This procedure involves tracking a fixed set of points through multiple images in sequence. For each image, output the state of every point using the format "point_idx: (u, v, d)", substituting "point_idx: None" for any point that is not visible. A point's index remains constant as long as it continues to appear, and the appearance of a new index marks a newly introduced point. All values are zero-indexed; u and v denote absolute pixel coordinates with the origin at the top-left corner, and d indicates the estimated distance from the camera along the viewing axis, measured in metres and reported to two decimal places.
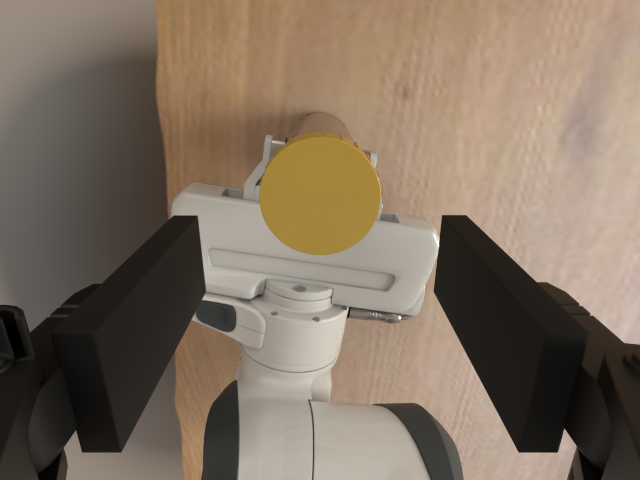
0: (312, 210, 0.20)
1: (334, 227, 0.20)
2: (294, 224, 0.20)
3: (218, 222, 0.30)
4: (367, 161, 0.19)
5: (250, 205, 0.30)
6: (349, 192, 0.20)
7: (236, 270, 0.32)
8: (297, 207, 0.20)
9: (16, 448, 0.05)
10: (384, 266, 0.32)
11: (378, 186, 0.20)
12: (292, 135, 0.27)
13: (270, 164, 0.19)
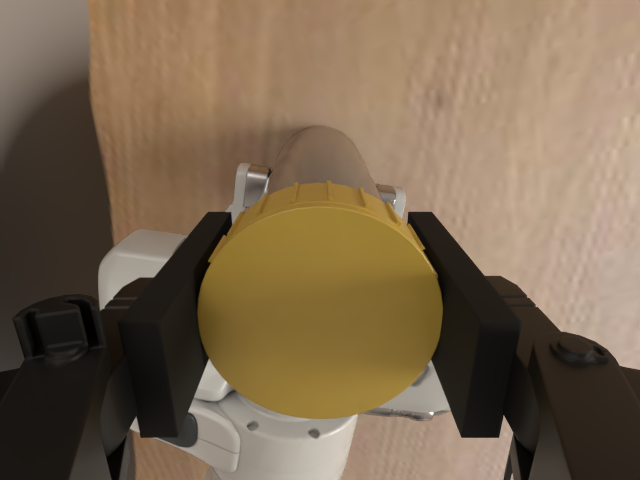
0: (304, 343, 0.10)
1: (348, 373, 0.10)
2: (269, 368, 0.10)
3: None
4: (418, 253, 0.09)
5: None
6: (380, 312, 0.10)
7: None
8: (274, 338, 0.10)
9: (91, 432, 0.06)
10: None
11: (439, 300, 0.10)
12: (275, 171, 0.17)
13: (216, 259, 0.09)
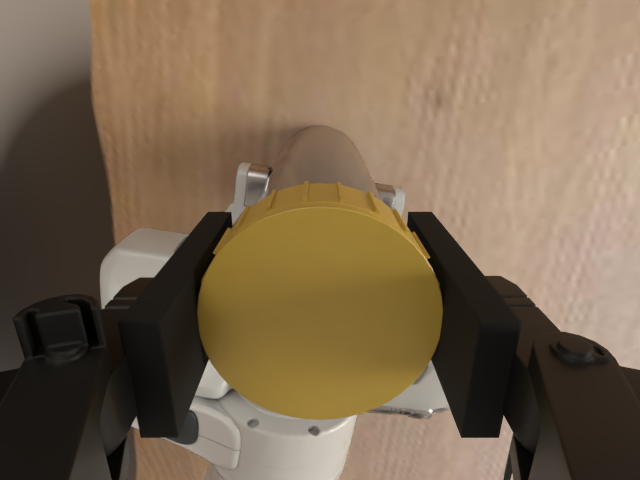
0: (348, 323, 0.10)
1: (352, 271, 0.09)
2: (393, 334, 0.10)
3: None
4: (200, 298, 0.10)
5: None
6: (271, 289, 0.09)
7: None
8: (359, 348, 0.10)
9: (90, 433, 0.06)
10: None
11: (223, 252, 0.09)
12: (276, 170, 0.17)
13: (319, 418, 0.11)
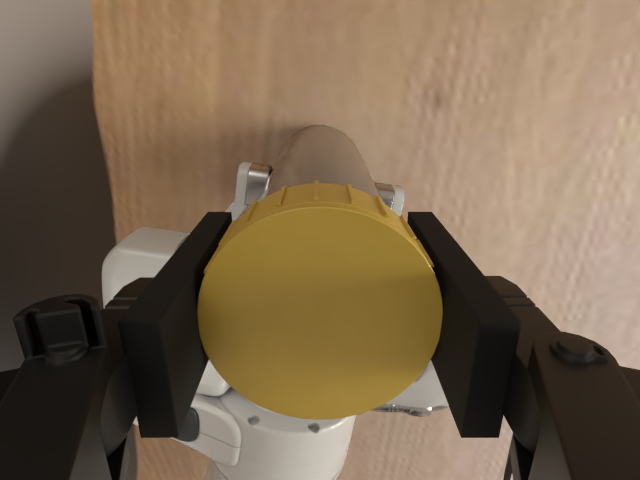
0: (302, 305, 0.10)
1: (254, 332, 0.10)
2: (283, 263, 0.09)
3: None
4: (359, 411, 0.11)
5: None
6: (315, 374, 0.10)
7: None
8: (318, 281, 0.09)
9: (92, 434, 0.06)
10: None
11: (309, 417, 0.11)
12: (276, 169, 0.17)
13: (424, 261, 0.09)
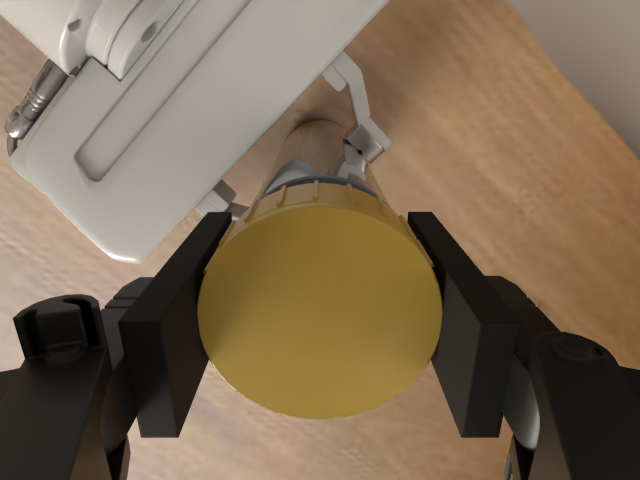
0: (302, 305, 0.10)
1: (254, 332, 0.10)
2: (283, 263, 0.09)
3: None
4: (359, 411, 0.11)
5: (328, 57, 0.18)
6: (315, 374, 0.10)
7: None
8: (318, 281, 0.09)
9: (92, 433, 0.06)
10: (120, 177, 0.20)
11: (309, 416, 0.11)
12: None
13: (423, 260, 0.09)
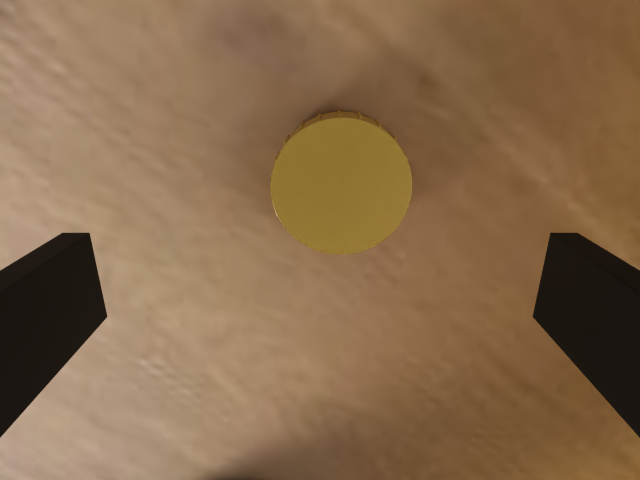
0: (331, 178, 0.17)
1: (303, 195, 0.17)
2: (321, 151, 0.16)
3: None
4: (363, 249, 0.18)
5: None
6: (337, 223, 0.18)
7: None
8: (340, 162, 0.17)
9: None
10: None
11: (333, 252, 0.18)
12: None
13: (400, 150, 0.16)
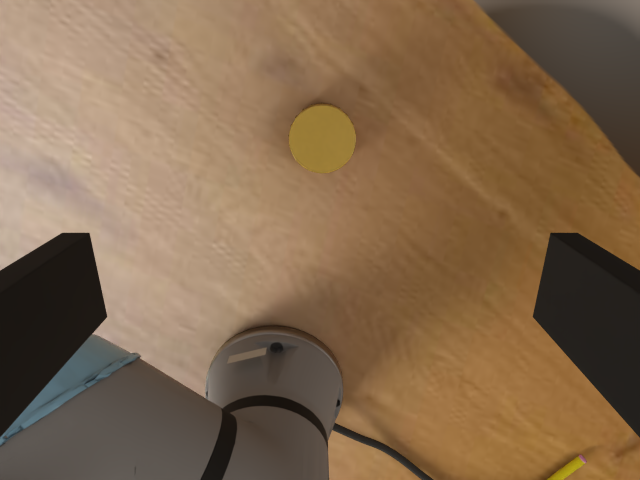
0: (317, 134, 0.36)
1: (304, 142, 0.36)
2: (313, 121, 0.36)
3: None
4: (333, 170, 0.37)
5: None
6: (321, 156, 0.37)
7: None
8: (322, 126, 0.36)
9: None
10: None
11: (319, 172, 0.37)
12: None
13: (349, 120, 0.36)
